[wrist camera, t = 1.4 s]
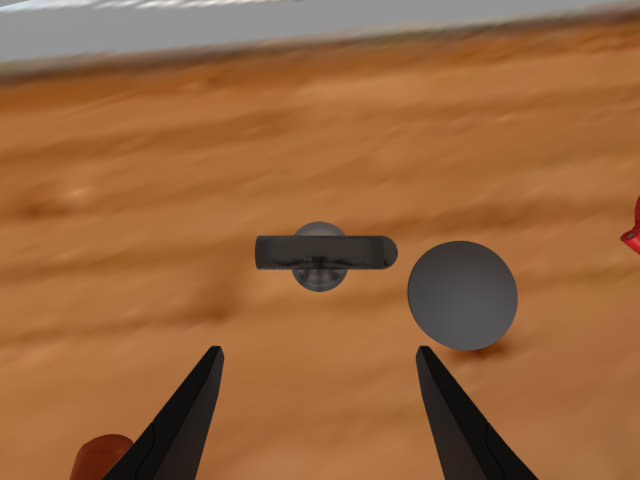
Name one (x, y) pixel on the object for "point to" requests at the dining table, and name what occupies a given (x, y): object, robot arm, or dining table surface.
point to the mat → (462, 295)
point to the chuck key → (323, 254)
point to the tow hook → (634, 231)
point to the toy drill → (99, 456)
